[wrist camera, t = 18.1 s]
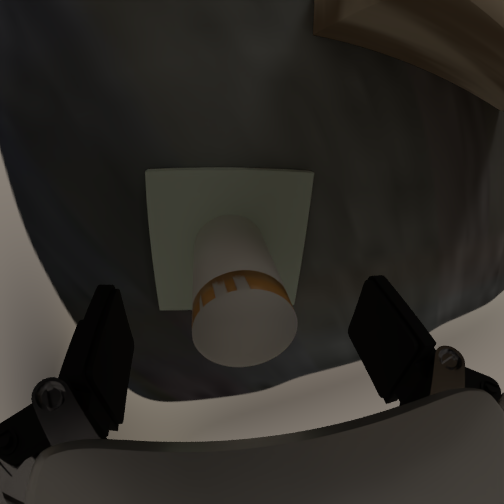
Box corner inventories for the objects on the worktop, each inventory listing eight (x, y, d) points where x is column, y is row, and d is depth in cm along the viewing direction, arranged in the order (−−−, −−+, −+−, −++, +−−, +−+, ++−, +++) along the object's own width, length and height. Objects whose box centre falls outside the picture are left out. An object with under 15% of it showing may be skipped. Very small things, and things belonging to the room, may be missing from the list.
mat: (147, 169, 14) (145, 171, 14) (310, 170, 16) (314, 172, 15) (160, 304, 19) (159, 310, 18) (291, 299, 20) (294, 305, 19)
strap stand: (314, -8, 10) (425, -83, 2) (501, 79, 13) (592, 103, 5) (312, 35, 12) (440, -20, 3) (499, 110, 15) (591, 142, 6)
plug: (193, 214, 15) (187, 292, 9) (266, 214, 16) (305, 287, 10) (195, 277, 17) (195, 369, 11) (260, 275, 18) (289, 362, 12)
